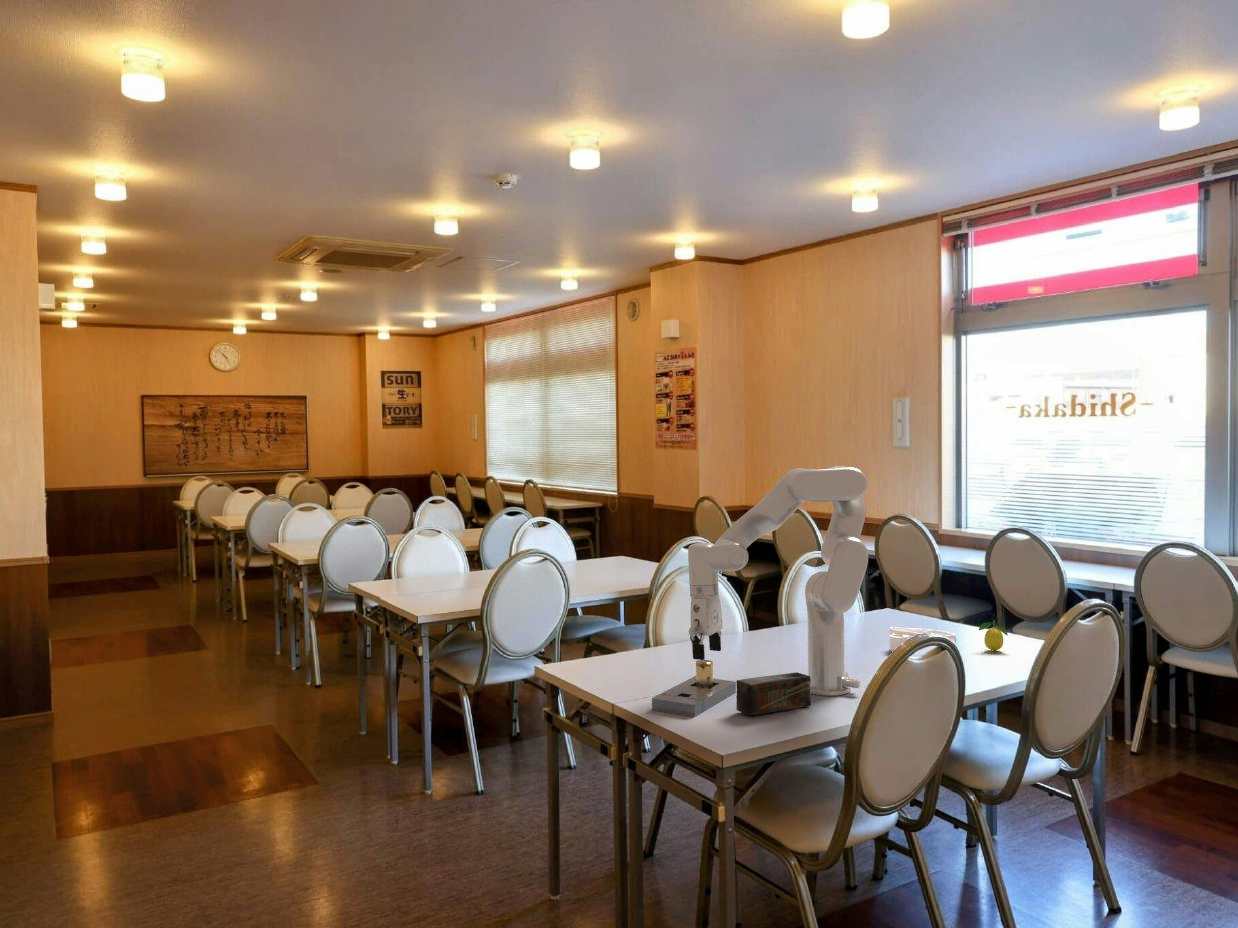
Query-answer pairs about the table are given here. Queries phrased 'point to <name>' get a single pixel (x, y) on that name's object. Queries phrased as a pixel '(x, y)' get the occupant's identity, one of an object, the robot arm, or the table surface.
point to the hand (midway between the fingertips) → (707, 654)
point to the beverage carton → (773, 693)
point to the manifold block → (693, 697)
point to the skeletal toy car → (906, 633)
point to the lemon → (993, 636)
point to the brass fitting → (704, 674)
